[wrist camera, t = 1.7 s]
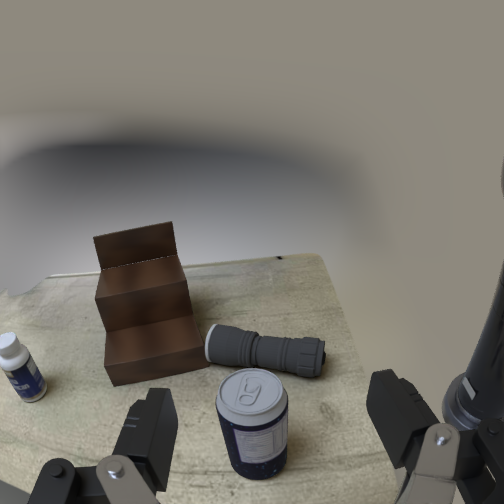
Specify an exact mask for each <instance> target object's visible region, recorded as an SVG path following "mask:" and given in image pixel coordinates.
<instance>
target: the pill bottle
mask: <svg viewBox="0 0 504 504" xmlns="http://www.w3.org/2000/svg"><path fill="white" fill-rule="evenodd" d="M0 366H1V368H2V369H3V371H4V373H5V374H6V376H7V378H8V379H9V381H10V382H11V384H12V386H13V387H14V389H15V390H16V392H17V393H18V395H19V396H20V398H21V399H22V400H23V401H26V402H34V401H36V400H38V399H40V398H41V397H42V396H43V395H44V394H45V392H46V389H47V385H46V382H45V380H44V378H43V376H42V375H41V373H40V371H39V369H38V367H37V366H36V364H35V362H34V360H33V358H32V356H31V354H30V352H29V351H28V349H27V347H26V346H25V345H23V344H20V342H19V340H18V338H17V336H16V334H15V333H13V332H7V333H4V334H2V335H1V336H0Z"/></svg>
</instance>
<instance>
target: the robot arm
mask: <svg viewBox="0 0 504 504" xmlns="http://www.w3.org/2000/svg"><path fill="white" fill-rule="evenodd" d="M501 186H502V193H503V197H504V159H503V165H502V172H501ZM455 398H456V403H457V406H458V408H459V410H460V411H461V412H462V414H463V415H464V416H465V417H466V418H468V419H469V420H471V421H473V422H475V423H477V424H479V426H478V427H477V429H474V430H466V431H458V430H457V429H456V428H455V427H454V426H452V425H449V424H446V423H440V422H439V420H438V419H437V418H436V416H435V415H434V413H433V412H432V410H431V409H430V408H429V406H428V405H427V403H426V402H425V401H424V400H423V398H422V396H421V395H420V394H418V391H417V389H416V388H415V387H414V385H413V384H412V383H410V382H408V381H407V380H405V379H404V378H401V379H398V377H397V376H396V375H395V373H394V372H393V370H392V369H387V370H382V371H377V372H373V374H372V376H371V381H370V386H369V390H368V395H367V400H366V406H367V411H368V414H369V416H370V418H371V420H372V422H373V424H374V426H375V428H376V430H377V432H378V435H379V437H380V439H381V441H382V443H383V445H384V447H385V449H386V451H387V453H388V455H389V458H390V460H391V462H392V464H393V466H394V468H395V469H398V468H401V467H404V466H405V468H406V470H407V472H406V474H405V476H404V479H403V482H402V484H401V487H400V489H399V492H398V494H397V497H396V499H395V501H394V504H452V502H453V498H454V494H455V490H456V485H457V487H458V489H459V491H460V493H461V495H462V498H463V500H464V502H465V504H504V423H503V422H502V420H504V261H503V265H502V269H501V272H500V277H499V280H498V284H497V288H496V292H495V294H494V298H493V301H492V305H491V308H490V311H489V314H488V317H487V320H486V323H485V326H484V328H483V331H482V334H481V336H480V339H479V341H478V344H477V347H476V349H475V352H474V354H473V356H472V359H471V361H470V363H469V366H468V368H467V370H466V372H465V374H464V376H463V378H462V380H461V382H460V383H459V385H458V387H457V390H456V395H455ZM123 425H124V426H123V427H122V430H121V432H120V435H119V437H118V440H117V443H116V445H115V448H114V451H113V453H112V455H110V456H107V457H105V458H103V459H102V460H101V461H100V462H99V463H98V465H97V466H91V467H74V466H73V464H72V463H71V462H70V461H68V460H66V459H63V458H55V459H52V460H49V461H48V462H47V463H45V465H44V466H43V467H42V470H41V472H40V474H39V476H38V479H37V481H36V484H35V486H34V488H33V491H32V493H31V496H30V498H29V501H28V503H27V504H160V503H159V501H158V500H157V499H156V492H157V491H162V492H166V488H167V482H168V477H169V471H170V466H171V461H172V455H173V450H174V445H175V440H176V435H177V430H178V418H177V413H176V409H175V406H174V402H173V399H172V395H171V391H170V389H169V388H150V389H149V391H148V394H147V397H146V400H139V399H138V400H137V401H136V402H135V403H134V404H133V405H132V406H131V407H130V409H129V412H128V414H127V419H125V422H124V424H123ZM486 466H488V468H489V470H490V471H491V473H492V475H493V476H494V478H495V480H494V479H493V478H492V475H491V474H490V472H489V470H488V469H487V467H486ZM495 481H496V482H495Z"/></svg>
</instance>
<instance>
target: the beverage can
mask: <svg viewBox="0 0 504 504" xmlns="http://www.w3.org/2000/svg"><path fill="white" fill-rule="evenodd" d="M216 409H217V413H218V417H219V421H220V425H221V429H222V433H223V436H224V440H225V444H226V447H227V451H228V455H229V458H230V462H231V465H232V467H233V469H234V470H235V471H236V472H237V473H238V474H239V475H241V476H243V477H245V478H248V479H252V480H263V479H268V478H270V477H273V476H275V475H276V474H278V473H279V472H280V471H281V470H282V469H283V467H284V466H285V464H286V460H287V434H288V395H287V392H286V390H285V389H284V387H283V385H282V383H281V381H280V379H279V378H278V377H277V376H276V375H274V374H273V373H271V372H269V371H267V370H263V369H258V368H247V369H242V370H238V371H236V372H233V373H232V374H230V375H228V376H227V377H226V378H225V379H224V380H223V381H222V382H221V384H220V386H219V390H218V395H217V397H216Z"/></svg>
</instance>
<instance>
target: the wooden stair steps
mask: <svg viewBox="0 0 504 504" xmlns="http://www.w3.org/2000/svg"><path fill="white" fill-rule="evenodd" d="M93 239H94V244H95V248H96V252H97V256H98V260H99V263H100V267H101V273H100V277H99V282H98V286H97V290H96V295H95V301H96V304H97V307H98V310H99V313H100V316H101V319H102V322H103V324H104V327H105V330H106V343H105V358H104V367H105V369H106V371H107V374H108V376H109V378H110V380H111V382H112V384H113V386H120V385H126V384H131V383H137V382H142V381H147V380H152V379H157V378H162V377H167V376H171V375H176V374H180V373H185V372H189V371H193V370H198V369H202V368H206V367H209V365H208V360H207V359H206V355H205V346H204V343H203V340H202V338H201V335H200V332H199V329H198V327H197V324H196V321H195V318H194V316H193V311H192V306H191V301H190V296H189V290H188V285H187V280H186V277H185V274H184V271H183V269H182V266H181V263H180V261H179V258H178V255H177V249H176V243H175V237H174V230H173V224H172V221H170V222H165V223H159V224H155V225H149V226H144V227H139V228H134V229H129V230H124V231H119V232H114V233H109V234H104V235H100V236H95V237H93ZM172 255H174V256H172ZM167 256H169V257H167ZM162 257H164V258H162ZM157 258H159V259H157ZM152 259H154V260H152ZM147 260H149V261H147ZM142 261H144V262H142ZM137 262H139V263H137ZM132 263H134V264H132ZM127 264H129V265H127ZM122 265H124V266H122ZM118 266H119V267H118ZM113 267H114V268H113ZM108 268H109V269H108ZM103 269H104V270H103Z"/></svg>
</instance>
